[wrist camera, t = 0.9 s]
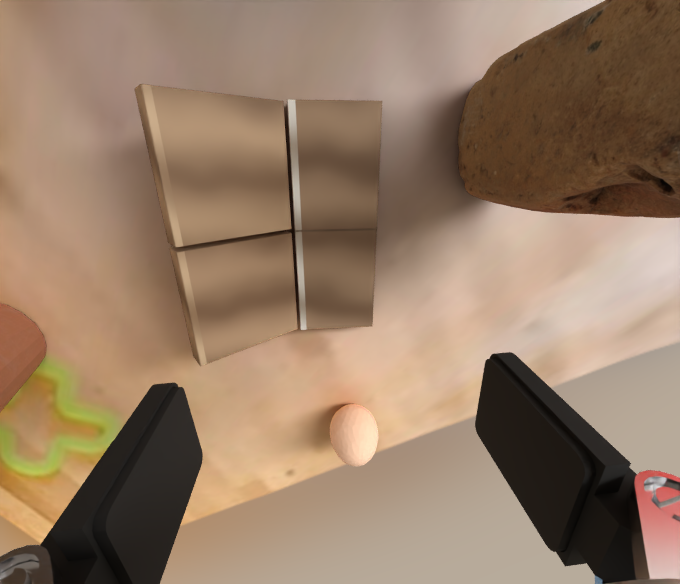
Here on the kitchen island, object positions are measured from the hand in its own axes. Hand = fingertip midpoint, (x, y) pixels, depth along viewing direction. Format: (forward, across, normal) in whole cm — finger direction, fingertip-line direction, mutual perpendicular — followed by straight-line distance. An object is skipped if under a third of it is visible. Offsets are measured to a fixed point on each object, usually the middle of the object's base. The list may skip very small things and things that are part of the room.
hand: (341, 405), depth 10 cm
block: (+24, -17, -8) cm, 30 cm away
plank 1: (+20, +7, -7) cm, 23 cm away
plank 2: (+21, +8, +4) cm, 22 cm away
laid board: (+24, -2, -1) cm, 24 cm away
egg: (+24, -3, +23) cm, 33 cm away
